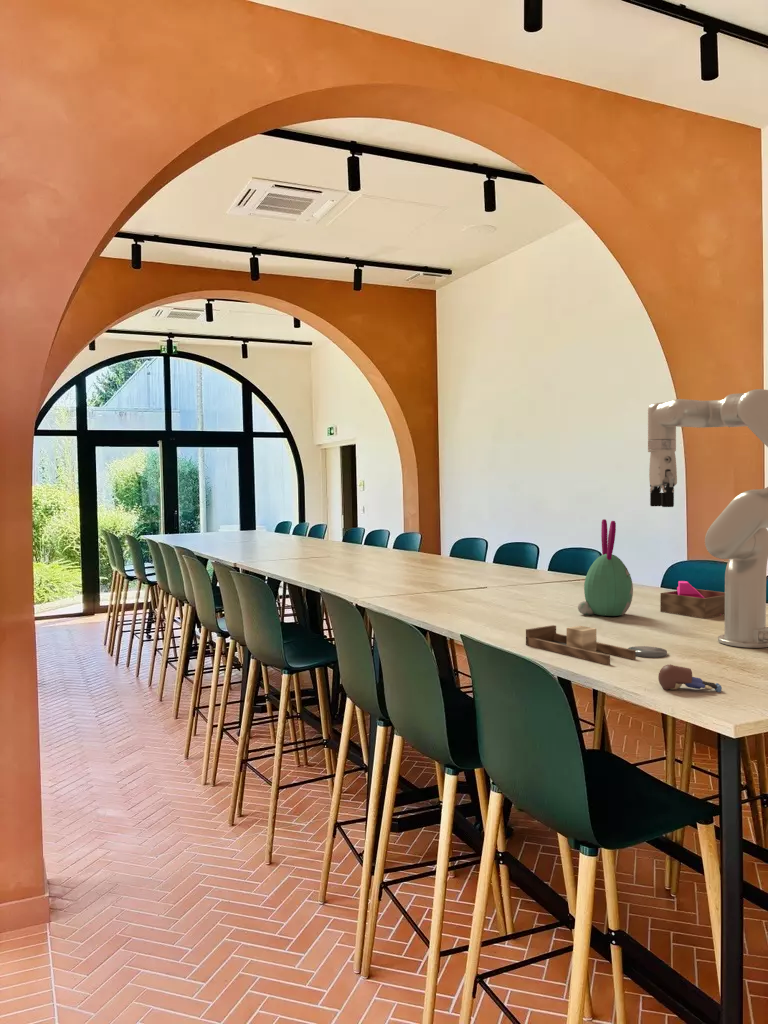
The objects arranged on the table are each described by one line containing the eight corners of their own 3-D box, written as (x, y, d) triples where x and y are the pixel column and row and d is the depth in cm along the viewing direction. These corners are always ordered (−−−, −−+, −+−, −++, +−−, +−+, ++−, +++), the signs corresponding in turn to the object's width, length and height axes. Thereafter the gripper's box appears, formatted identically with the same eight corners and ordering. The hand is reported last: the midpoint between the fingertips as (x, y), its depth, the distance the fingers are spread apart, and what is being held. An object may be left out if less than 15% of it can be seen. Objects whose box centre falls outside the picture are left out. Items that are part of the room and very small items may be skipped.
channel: (635, 658, 174) (635, 641, 174) (607, 664, 168) (607, 647, 168) (553, 640, 195) (553, 625, 195) (525, 644, 190) (525, 629, 190)
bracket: (679, 615, 234) (679, 582, 234) (676, 610, 244) (677, 579, 244) (720, 617, 231) (721, 584, 230) (716, 611, 241) (716, 580, 240)
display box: (736, 612, 236) (736, 594, 236) (703, 618, 226) (704, 598, 226) (692, 606, 249) (692, 588, 248) (660, 611, 239) (660, 592, 239)
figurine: (714, 696, 149) (654, 684, 151) (719, 671, 149) (658, 660, 151) (722, 703, 144) (659, 692, 146) (726, 678, 144) (663, 666, 145)
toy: (639, 619, 226) (639, 521, 225) (583, 618, 226) (583, 521, 225) (625, 610, 241) (625, 518, 240) (573, 610, 241) (573, 519, 240)
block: (596, 653, 180) (596, 628, 180) (582, 655, 177) (582, 631, 177) (580, 649, 184) (580, 625, 184) (566, 652, 182) (566, 627, 181)
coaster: (674, 654, 178) (675, 651, 178) (651, 659, 173) (651, 656, 173) (643, 647, 185) (643, 644, 185) (619, 652, 180) (619, 649, 180)
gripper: (686, 444, 202) (686, 507, 202) (664, 448, 219) (664, 505, 220) (658, 444, 202) (658, 507, 203) (639, 448, 219) (639, 506, 220)
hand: (661, 506), depth 211 cm, fingers open, 9 cm apart
